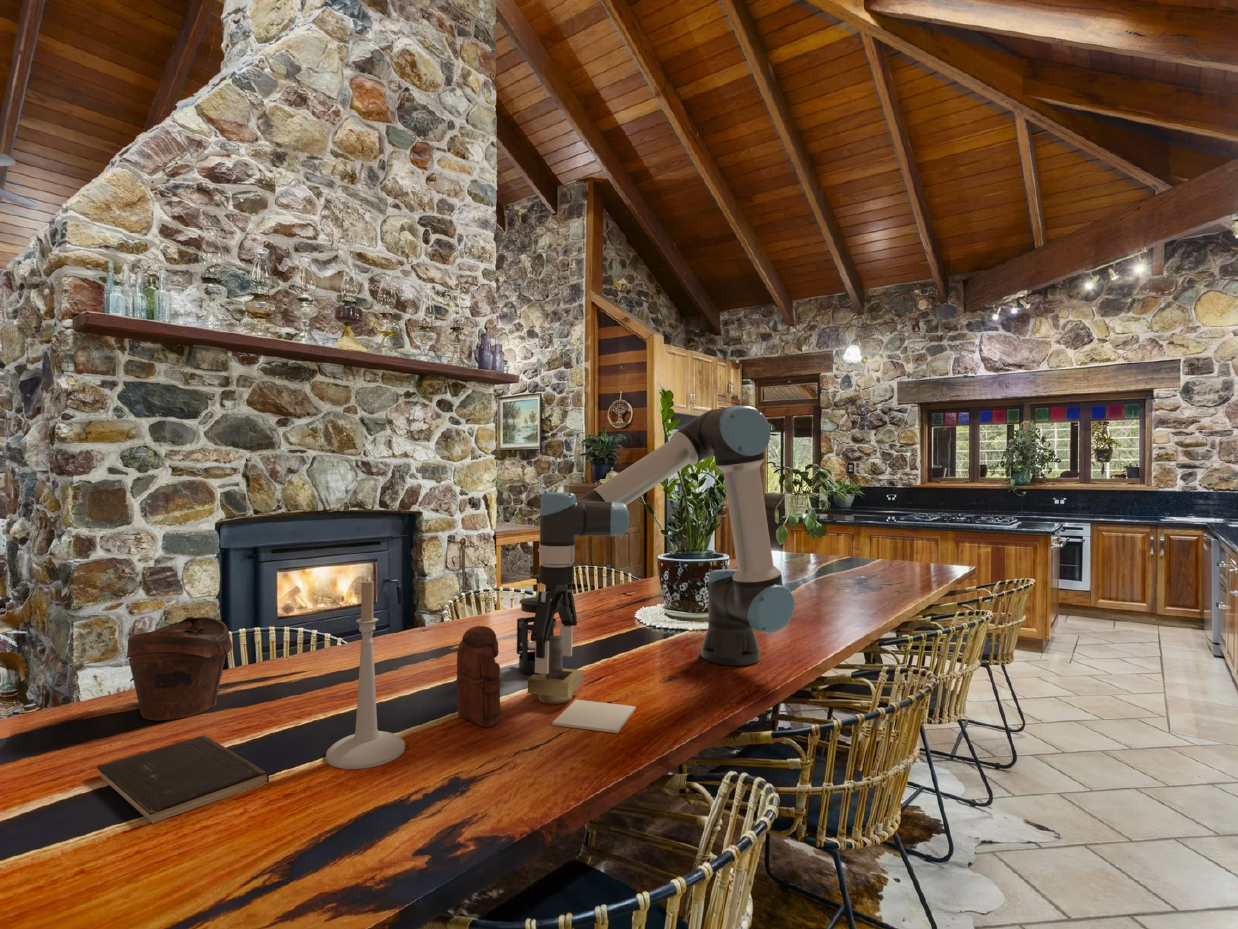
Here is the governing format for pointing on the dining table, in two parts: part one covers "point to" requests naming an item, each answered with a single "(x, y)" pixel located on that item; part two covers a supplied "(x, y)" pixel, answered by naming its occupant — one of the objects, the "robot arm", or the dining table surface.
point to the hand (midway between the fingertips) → (554, 664)
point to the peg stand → (555, 668)
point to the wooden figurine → (478, 677)
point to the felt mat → (595, 716)
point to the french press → (522, 634)
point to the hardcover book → (180, 777)
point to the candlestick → (366, 706)
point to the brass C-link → (556, 683)
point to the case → (178, 667)
